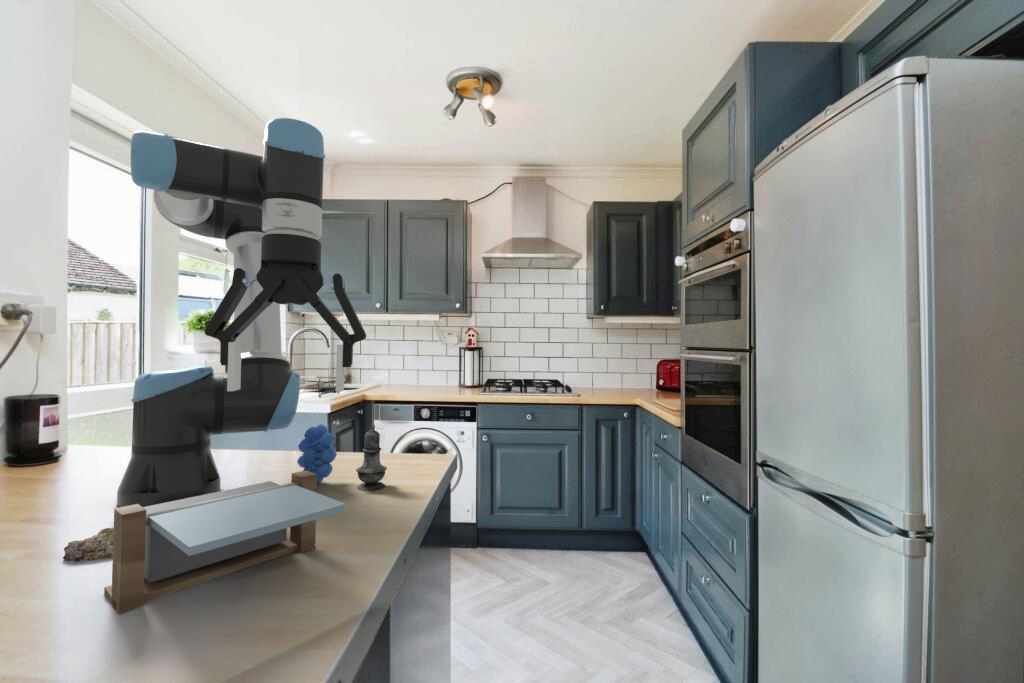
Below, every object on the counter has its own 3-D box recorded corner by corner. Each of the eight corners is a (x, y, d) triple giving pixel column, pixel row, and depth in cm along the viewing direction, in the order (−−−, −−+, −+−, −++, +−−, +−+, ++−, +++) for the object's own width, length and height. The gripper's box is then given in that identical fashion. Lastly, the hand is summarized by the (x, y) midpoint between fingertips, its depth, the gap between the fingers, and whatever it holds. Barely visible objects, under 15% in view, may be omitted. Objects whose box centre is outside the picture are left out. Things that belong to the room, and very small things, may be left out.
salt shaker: (369, 493, 89) (371, 429, 89) (349, 488, 92) (350, 426, 92) (393, 485, 94) (394, 425, 94) (372, 481, 97) (373, 422, 97)
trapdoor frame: (104, 594, 51) (107, 502, 52) (293, 536, 68) (294, 466, 68) (119, 614, 48) (122, 514, 48) (315, 547, 64) (316, 474, 64)
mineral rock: (164, 515, 70) (169, 514, 64) (166, 545, 69) (170, 548, 63) (65, 535, 63) (60, 536, 57) (65, 569, 62) (60, 574, 56)
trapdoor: (130, 570, 54) (132, 503, 54) (272, 530, 67) (274, 475, 67) (187, 630, 43) (189, 545, 43) (344, 568, 55) (346, 502, 56)
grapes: (352, 484, 94) (353, 424, 95) (321, 492, 89) (322, 428, 89) (319, 474, 101) (321, 418, 102) (289, 481, 96) (290, 422, 96)
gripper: (177, 223, 59) (172, 393, 59) (384, 238, 64) (379, 393, 64) (203, 236, 66) (198, 387, 66) (386, 248, 72) (382, 388, 72)
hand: (288, 390), depth 65 cm, fingers open, 13 cm apart
